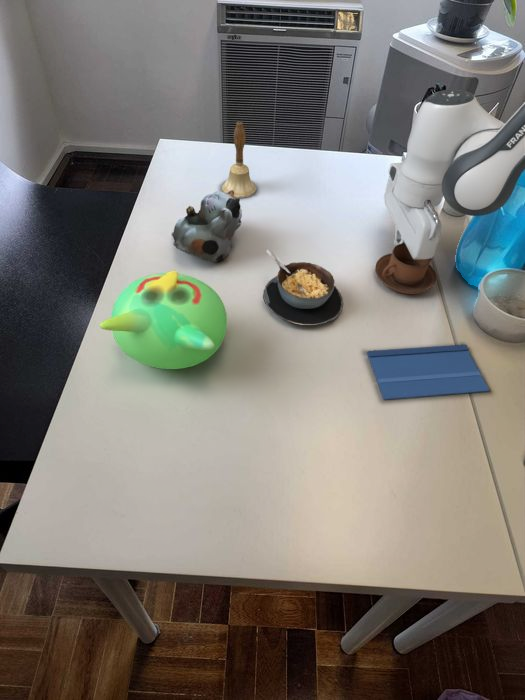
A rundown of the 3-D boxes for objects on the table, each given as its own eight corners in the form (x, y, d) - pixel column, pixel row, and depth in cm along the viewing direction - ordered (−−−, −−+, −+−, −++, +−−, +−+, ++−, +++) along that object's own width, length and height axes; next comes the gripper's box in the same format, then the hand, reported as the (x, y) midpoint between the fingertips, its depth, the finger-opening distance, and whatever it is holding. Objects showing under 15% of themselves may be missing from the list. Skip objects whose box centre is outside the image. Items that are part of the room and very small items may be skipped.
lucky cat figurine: (171, 228, 102) (195, 166, 96) (222, 249, 106) (248, 191, 99) (167, 253, 89) (193, 184, 83) (225, 276, 93) (254, 211, 87)
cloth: (464, 346, 83) (465, 343, 83) (488, 391, 77) (490, 389, 77) (366, 352, 81) (367, 350, 81) (383, 400, 75) (384, 397, 74)
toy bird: (231, 320, 85) (231, 255, 74) (220, 397, 74) (218, 333, 63) (132, 312, 85) (117, 246, 74) (106, 388, 74) (84, 322, 63)
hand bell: (258, 197, 112) (261, 130, 100) (223, 198, 111) (222, 130, 99) (253, 179, 117) (256, 113, 105) (220, 180, 116) (219, 113, 104)
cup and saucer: (413, 308, 89) (423, 283, 85) (361, 278, 94) (368, 253, 90) (443, 279, 95) (454, 255, 91) (393, 252, 100) (401, 228, 96)
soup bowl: (287, 340, 82) (291, 310, 77) (247, 285, 91) (248, 254, 86) (357, 315, 87) (366, 285, 82) (312, 265, 96) (317, 234, 91)
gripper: (458, 219, 79) (431, 281, 90) (418, 159, 92) (399, 220, 103) (422, 220, 79) (399, 283, 89) (387, 159, 92) (371, 220, 102)
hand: (399, 248), depth 96 cm, fingers closed
